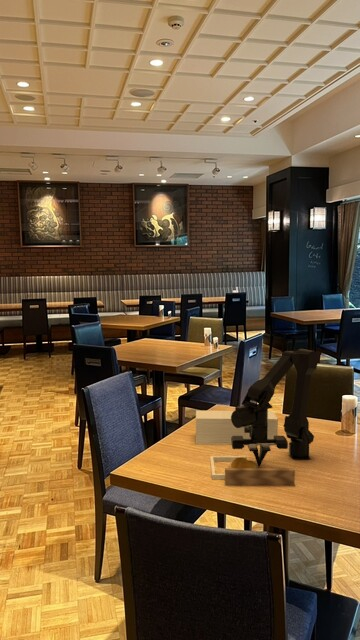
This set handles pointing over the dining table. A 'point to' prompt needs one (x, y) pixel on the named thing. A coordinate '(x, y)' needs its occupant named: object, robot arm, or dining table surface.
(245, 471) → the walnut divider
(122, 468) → the dining table surface
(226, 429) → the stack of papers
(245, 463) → the bread roll
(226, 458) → the serving bay
